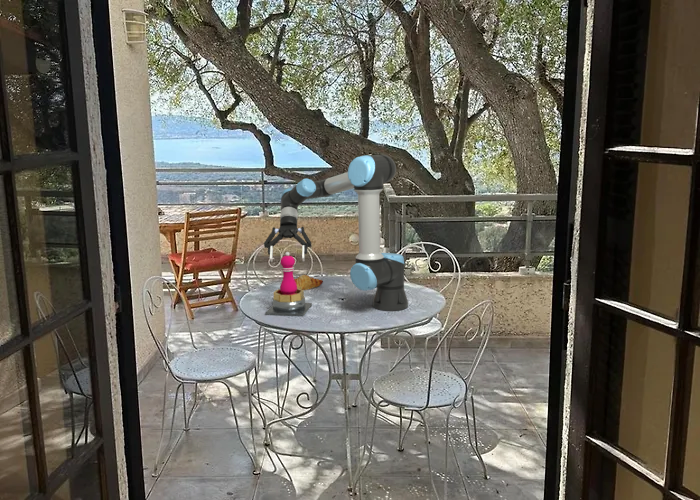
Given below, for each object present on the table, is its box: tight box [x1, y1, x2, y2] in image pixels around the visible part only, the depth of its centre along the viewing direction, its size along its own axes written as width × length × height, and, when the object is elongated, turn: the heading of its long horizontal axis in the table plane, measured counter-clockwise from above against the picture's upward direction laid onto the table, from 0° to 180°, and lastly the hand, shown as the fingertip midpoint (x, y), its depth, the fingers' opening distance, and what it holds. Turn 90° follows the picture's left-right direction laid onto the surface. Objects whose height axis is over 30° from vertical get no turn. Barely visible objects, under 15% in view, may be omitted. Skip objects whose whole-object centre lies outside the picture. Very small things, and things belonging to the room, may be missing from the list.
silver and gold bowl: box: [265, 288, 313, 317], centre depth 262 cm, size 16×16×8 cm
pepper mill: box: [279, 251, 297, 295], centre depth 260 cm, size 7×7×20 cm
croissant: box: [294, 274, 324, 291], centre depth 299 cm, size 21×10×8 cm
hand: (287, 260), depth 261 cm, fingers open, 13 cm apart
